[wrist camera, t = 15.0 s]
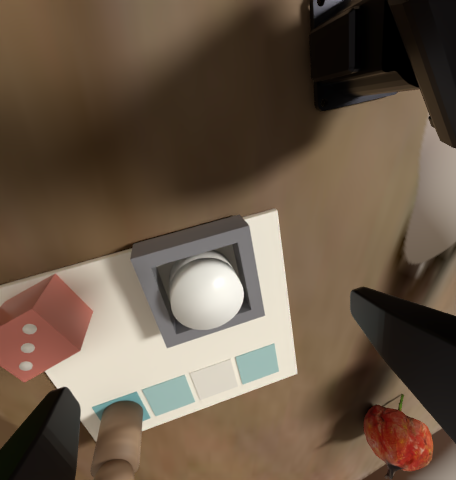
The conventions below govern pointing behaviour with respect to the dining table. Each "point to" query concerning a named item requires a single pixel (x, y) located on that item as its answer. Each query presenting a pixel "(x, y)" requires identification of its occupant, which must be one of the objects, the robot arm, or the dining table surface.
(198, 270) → the dome
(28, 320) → the die
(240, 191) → the dining table surface
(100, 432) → the pawn
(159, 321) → the dome housing
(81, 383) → the board
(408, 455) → the pomegranate
